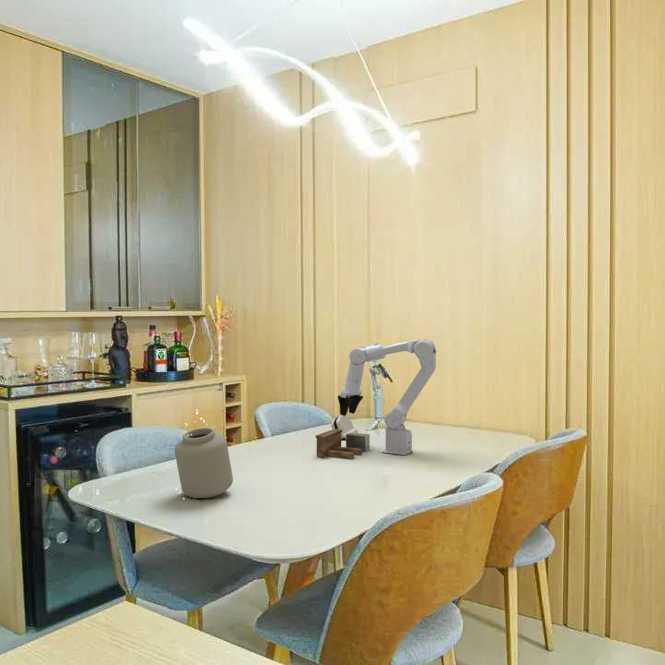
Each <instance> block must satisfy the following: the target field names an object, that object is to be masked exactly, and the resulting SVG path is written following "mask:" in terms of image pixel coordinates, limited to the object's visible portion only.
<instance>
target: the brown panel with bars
mask: <svg viewBox="0 0 665 665" xmlns="http://www.w3.org/2000/svg"><path fill="white" fill-rule="evenodd" d="M341 432H342V430H339V429H332V428H331V429H329V430H328V431H325V432H322V433H319V434H316V435H315V439H316V458H320V457H321V458H322V459H325V458H327V457H328V456H329V458H336V459H337V458H338V459H347V460H354V459H355V456H363V452H362V449H356V448H347V447H346V446H342V439H341Z"/></svg>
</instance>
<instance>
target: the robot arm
mask: <svg viewBox="0 0 665 665" xmlns="http://www.w3.org/2000/svg"><path fill="white" fill-rule="evenodd" d="M401 352H408V353H410V354H415V356H416V357H417V359H418V360H419V361H418V362H419V364H420V369H419V370H418V372H417V374H416V375H415V377H414V378H413V380H412V381H411V383H410V384H409V386H408V387H407V389H406V391H405V392H404V393H403V395H402V397H401V398H400V399H399V401H398V402H397V404H395V406H394V408H393V409H392V410H391V411H390V412H388V413H387V414H386V415H385V417H384V424H385V449H383V450H381V453H384V454H385V453H386V454H391V455H400V456H407V455H408V454H410V453H412V452H413V433H412V430H411V429H407V428H406V425H405V424H404V423H405V422H406V419H407V414H408V413H409V411H410V409H411V407H412V406H413V404H414V402H415V401H416V400H417V399H418V396H419V395H420V394H421V392H422V390H424V388H425V386H426V384H427V383H428V382H429V380H430V378H431V377H432V375H433V374H434V373H435V371H436V367H437V366H436V365H437V349H436V346H435V344H434V342H433V341H432V340H430V339H428V338H427V339H422V340H421V339H416V340H413V339H412V340H407V341H402V342H398V343H394V344H390V345H384V344H381V343H378V342H374V343H373V344H372V345H368V346H365V345H363V346H361V348H360V347H358V348H354V349H353V350H351V351H350V353H349V355H348V356H349V357H348V358H349V366H348V368H347V373H346V374H347V375H346V380H345V386H344V387H342V388H341V392H340V394H339V395H337V400H338V404H339V414H340V415H339V416H341V415H343V416H346V415H348V413H349V414H355V413H356V410H357V408H358V406H359V405H360V403H361V401H362V400H363V399H364V396H363V395H362V392H363V390H362V389H361V385H362V380H363V376H364V367H365V364H366V362H367V363H369V362H374V361H378V360H383V359H385V357H386V356H387V355H391V354H396V353H401Z"/></svg>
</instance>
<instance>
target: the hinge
mask: <svg viewBox="0 0 665 665" xmlns="http://www.w3.org/2000/svg"><path fill="white" fill-rule="evenodd" d="M330 425H331V430H332V429H339V430H342V432H341V440H342V439H345V440H346V434H348V433H359V432H358V430H357V428H354V425H353V423H352V420H351V417H350V416H349V415H348V414H346V416H343V415H337V416H336V417H334V418H333V419H332V421H331V423H330Z"/></svg>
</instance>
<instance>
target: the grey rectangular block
mask: <svg viewBox="0 0 665 665" xmlns="http://www.w3.org/2000/svg"><path fill="white" fill-rule="evenodd" d="M370 437H371V436H370V434H368V433H360V432H358V433H348V434H346V439H345V447H347V448H356V449H362V453H365V452H368V451H370V450H371V447H370V439H371V438H370Z"/></svg>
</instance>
